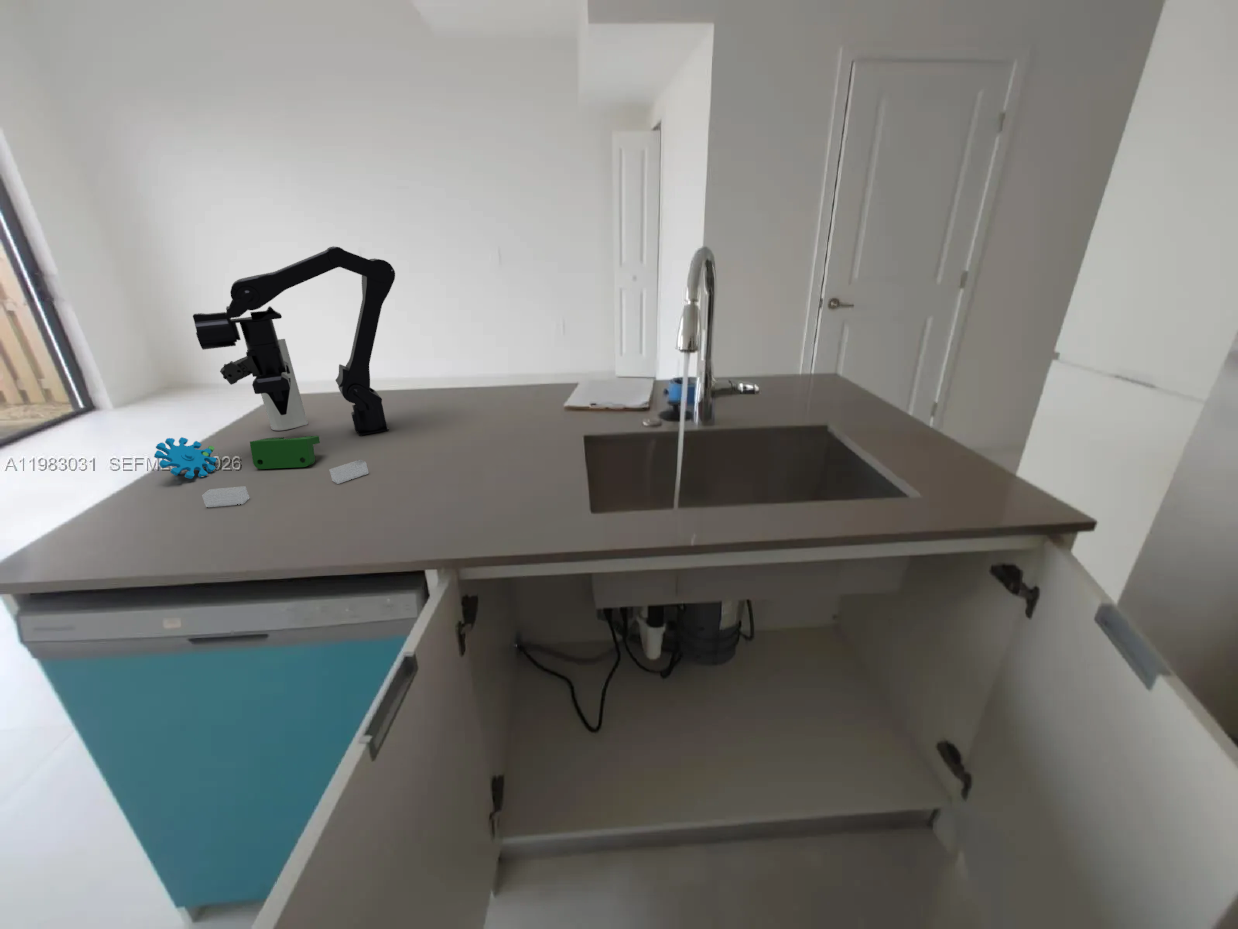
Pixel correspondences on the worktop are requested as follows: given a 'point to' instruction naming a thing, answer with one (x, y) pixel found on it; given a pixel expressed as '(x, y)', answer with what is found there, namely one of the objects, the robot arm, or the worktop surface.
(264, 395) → the paper towel roll
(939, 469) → the worktop surface
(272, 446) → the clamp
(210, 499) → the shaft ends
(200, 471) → the gear
